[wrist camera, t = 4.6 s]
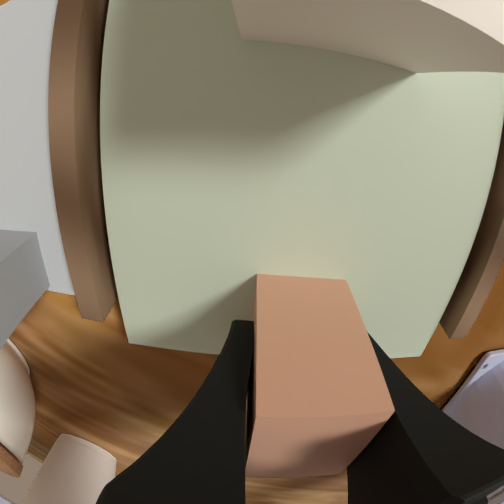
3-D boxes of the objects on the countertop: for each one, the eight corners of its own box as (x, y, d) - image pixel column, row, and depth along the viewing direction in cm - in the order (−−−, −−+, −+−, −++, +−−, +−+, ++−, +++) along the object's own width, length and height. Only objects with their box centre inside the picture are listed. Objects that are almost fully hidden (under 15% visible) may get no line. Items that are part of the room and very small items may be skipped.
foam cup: (29, 416, 20) (-11, 518, 8) (100, 434, 19) (64, 565, 7) (78, 460, 24) (54, 547, 13) (146, 475, 23) (128, 577, 12)
